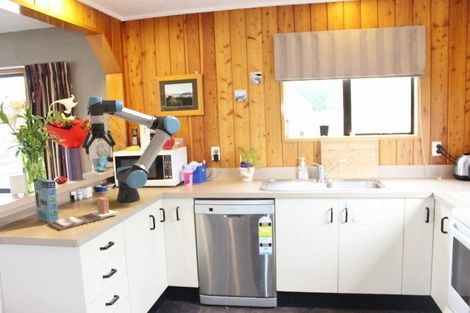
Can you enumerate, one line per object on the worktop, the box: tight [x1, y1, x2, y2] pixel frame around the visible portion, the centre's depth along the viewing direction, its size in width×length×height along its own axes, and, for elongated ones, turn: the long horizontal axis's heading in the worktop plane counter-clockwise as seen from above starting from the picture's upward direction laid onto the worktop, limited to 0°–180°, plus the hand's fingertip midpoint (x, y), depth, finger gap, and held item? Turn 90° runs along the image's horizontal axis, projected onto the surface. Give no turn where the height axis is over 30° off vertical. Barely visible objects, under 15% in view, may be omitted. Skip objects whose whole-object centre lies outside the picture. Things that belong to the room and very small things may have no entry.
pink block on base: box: [89, 197, 119, 218], centre depth 209 cm, size 10×14×9 cm
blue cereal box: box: [33, 177, 59, 224], centre depth 205 cm, size 19×5×23 cm, turn 47°
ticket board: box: [47, 213, 108, 232], centre depth 198 cm, size 25×16×2 cm, turn 137°
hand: (100, 158), depth 221 cm, fingers open, 13 cm apart
